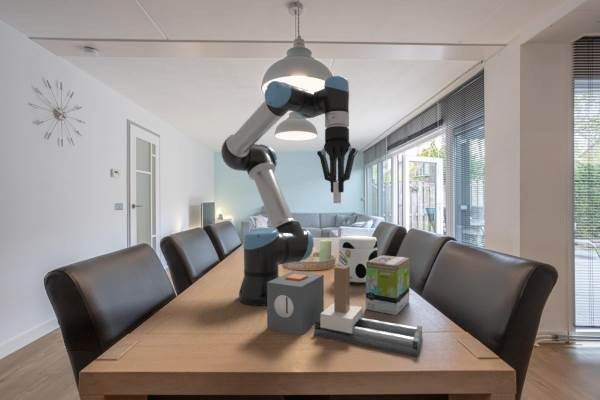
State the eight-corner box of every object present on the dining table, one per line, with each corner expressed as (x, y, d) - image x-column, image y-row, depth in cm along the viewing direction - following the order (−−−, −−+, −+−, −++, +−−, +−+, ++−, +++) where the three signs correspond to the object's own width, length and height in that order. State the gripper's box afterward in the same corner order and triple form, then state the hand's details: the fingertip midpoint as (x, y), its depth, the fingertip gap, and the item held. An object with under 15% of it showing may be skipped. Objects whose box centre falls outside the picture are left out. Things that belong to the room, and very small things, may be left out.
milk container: (328, 281, 127) (327, 237, 127) (354, 274, 139) (353, 234, 139) (362, 290, 115) (362, 241, 115) (388, 281, 126) (388, 237, 126)
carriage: (320, 327, 76) (320, 269, 76) (333, 314, 84) (333, 262, 84) (351, 333, 72) (351, 272, 73) (362, 319, 81) (362, 265, 81)
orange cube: (286, 292, 83) (286, 277, 83) (293, 288, 87) (293, 273, 87) (300, 294, 82) (300, 278, 82) (307, 290, 85) (306, 275, 85)
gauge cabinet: (266, 328, 80) (266, 282, 80) (293, 311, 93) (292, 271, 93) (300, 336, 76) (300, 287, 76) (323, 316, 88) (323, 274, 88)
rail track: (314, 334, 76) (314, 322, 76) (329, 320, 85) (329, 309, 85) (417, 356, 65) (417, 342, 65) (422, 338, 74) (422, 325, 74)
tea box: (398, 316, 89) (398, 264, 89) (364, 309, 94) (364, 261, 94) (410, 301, 101) (410, 256, 101) (380, 296, 107) (379, 253, 107)
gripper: (313, 127, 97) (313, 203, 97) (353, 122, 91) (353, 203, 91) (322, 132, 103) (322, 203, 103) (360, 128, 97) (360, 203, 97)
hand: (337, 203), depth 97 cm, fingers closed
